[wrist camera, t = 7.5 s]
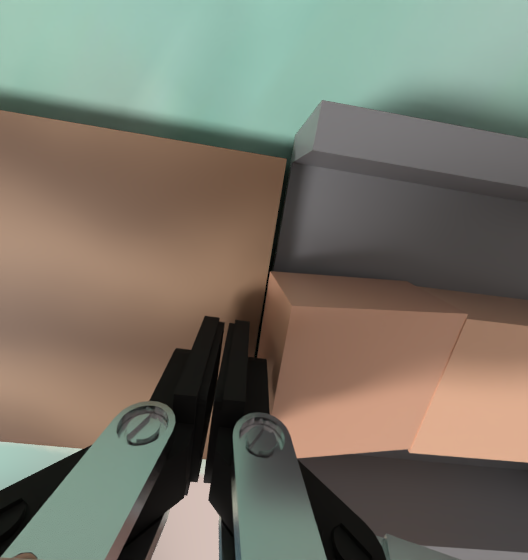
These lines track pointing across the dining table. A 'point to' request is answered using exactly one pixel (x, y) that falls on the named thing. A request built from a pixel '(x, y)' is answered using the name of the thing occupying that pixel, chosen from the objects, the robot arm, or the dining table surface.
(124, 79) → the dining table surface
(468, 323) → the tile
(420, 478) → the tray
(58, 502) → the robot arm
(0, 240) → the board
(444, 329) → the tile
